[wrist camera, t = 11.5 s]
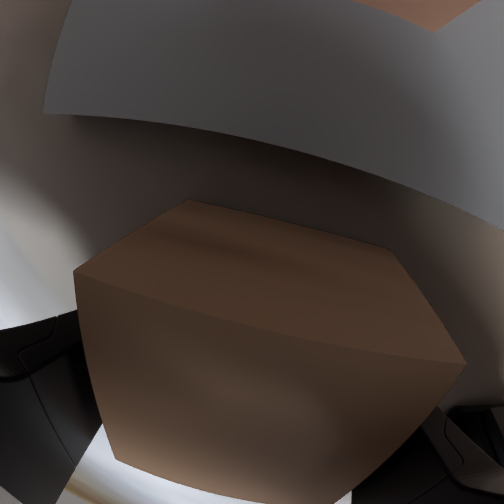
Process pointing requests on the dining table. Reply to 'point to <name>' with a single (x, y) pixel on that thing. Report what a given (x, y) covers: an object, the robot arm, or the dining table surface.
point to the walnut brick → (258, 354)
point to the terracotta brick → (423, 10)
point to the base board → (303, 83)
